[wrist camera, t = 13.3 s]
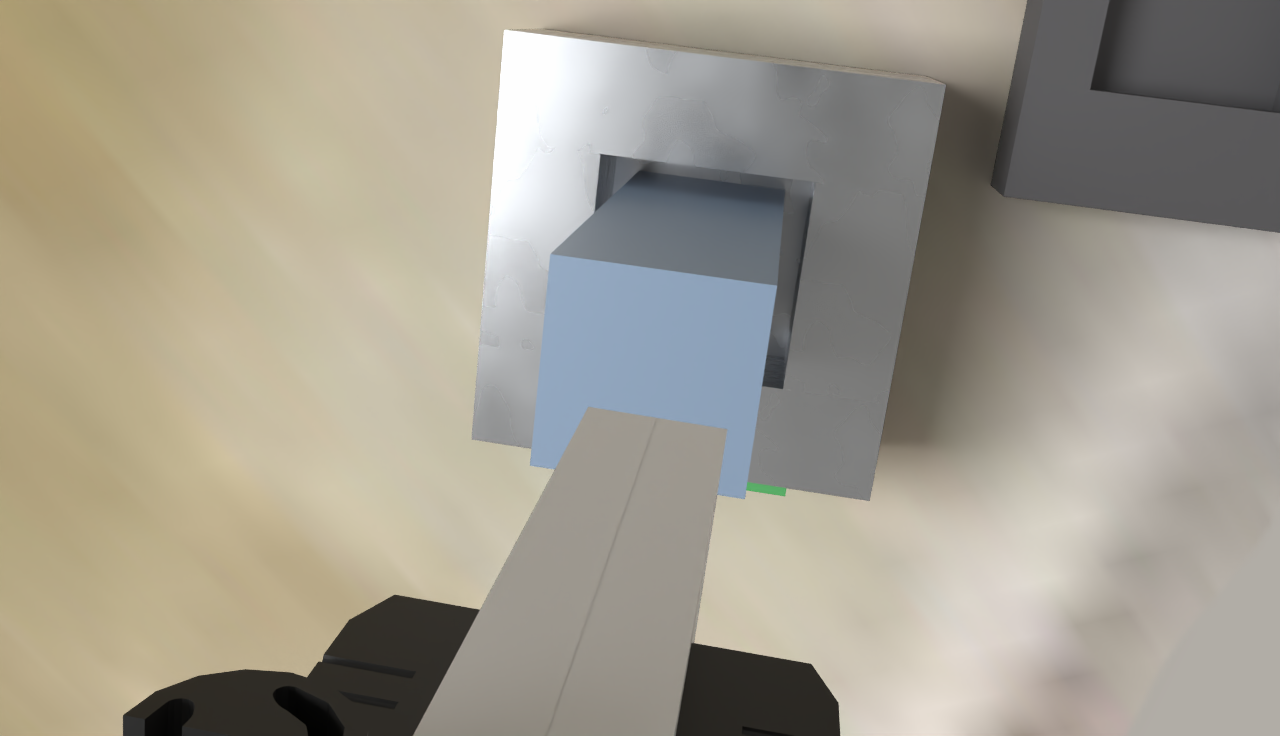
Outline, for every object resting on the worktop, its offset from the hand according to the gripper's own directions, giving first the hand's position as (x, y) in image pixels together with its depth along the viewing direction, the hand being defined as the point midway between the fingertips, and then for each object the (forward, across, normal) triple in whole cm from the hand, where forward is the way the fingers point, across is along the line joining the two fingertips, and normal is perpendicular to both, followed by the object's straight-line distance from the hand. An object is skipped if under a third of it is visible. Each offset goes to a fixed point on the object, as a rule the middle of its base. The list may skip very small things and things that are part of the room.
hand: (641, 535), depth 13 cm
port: (+27, -1, -2) cm, 27 cm away
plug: (+25, -1, -2) cm, 25 cm away
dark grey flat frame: (+27, +12, +7) cm, 30 cm away
